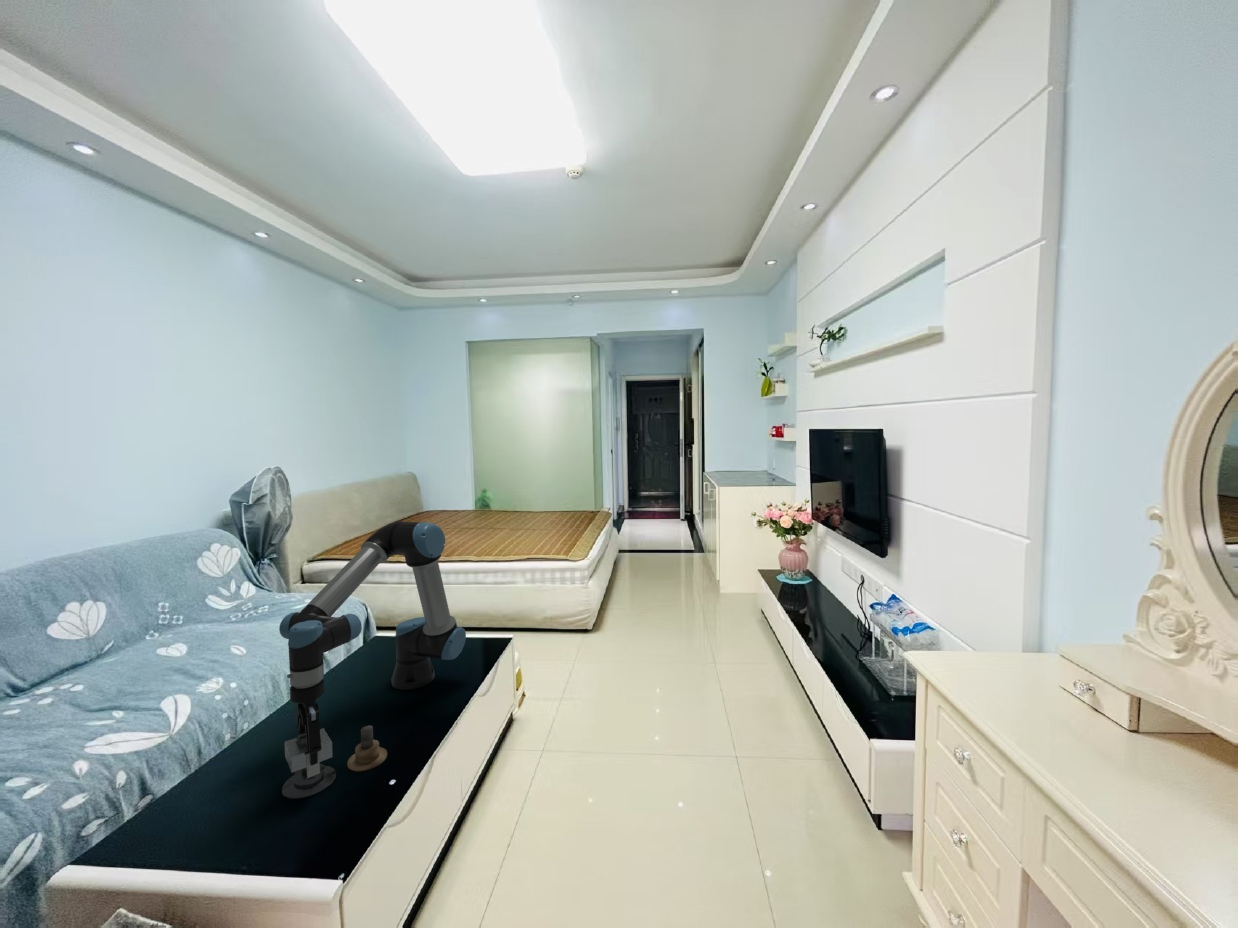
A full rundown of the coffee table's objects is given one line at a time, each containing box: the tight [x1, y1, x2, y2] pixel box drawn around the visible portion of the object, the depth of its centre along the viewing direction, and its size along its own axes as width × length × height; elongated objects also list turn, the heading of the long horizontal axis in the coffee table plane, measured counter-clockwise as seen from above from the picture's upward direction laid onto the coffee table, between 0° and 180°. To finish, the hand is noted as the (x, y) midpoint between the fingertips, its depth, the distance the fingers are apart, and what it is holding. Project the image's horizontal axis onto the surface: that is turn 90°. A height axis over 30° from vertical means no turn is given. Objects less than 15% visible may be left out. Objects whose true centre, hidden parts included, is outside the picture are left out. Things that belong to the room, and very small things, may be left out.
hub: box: [281, 746, 337, 800], centre depth 128 cm, size 12×12×10 cm
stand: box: [346, 725, 388, 772], centre depth 138 cm, size 10×10×9 cm
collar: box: [284, 727, 333, 774], centre depth 128 cm, size 9×9×4 cm
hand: (309, 766), depth 128 cm, fingers closed on collar, 9 cm apart
